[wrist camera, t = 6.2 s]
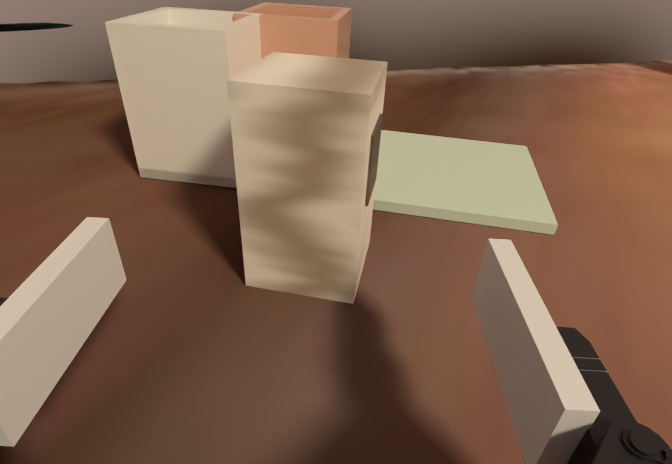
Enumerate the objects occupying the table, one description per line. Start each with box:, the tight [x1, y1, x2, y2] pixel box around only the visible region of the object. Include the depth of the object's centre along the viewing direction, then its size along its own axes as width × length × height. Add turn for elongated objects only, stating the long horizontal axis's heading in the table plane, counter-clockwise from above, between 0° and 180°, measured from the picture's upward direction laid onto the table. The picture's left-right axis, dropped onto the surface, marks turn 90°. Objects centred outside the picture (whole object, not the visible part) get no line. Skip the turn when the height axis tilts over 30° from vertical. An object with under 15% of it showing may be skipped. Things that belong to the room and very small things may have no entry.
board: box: [373, 130, 558, 235], centre depth 36 cm, size 14×14×1 cm
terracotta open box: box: [234, 3, 351, 59], centre depth 39 cm, size 8×8×11 cm
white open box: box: [105, 7, 261, 188], centre depth 34 cm, size 8×8×11 cm
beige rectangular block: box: [227, 52, 387, 304], centre depth 23 cm, size 6×6×11 cm
